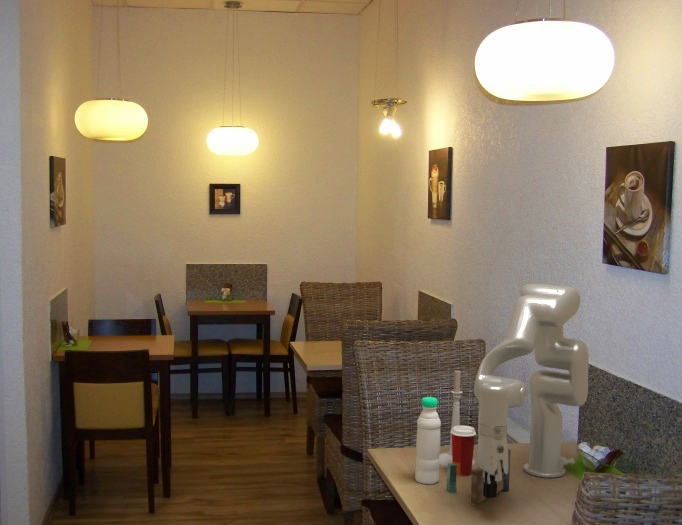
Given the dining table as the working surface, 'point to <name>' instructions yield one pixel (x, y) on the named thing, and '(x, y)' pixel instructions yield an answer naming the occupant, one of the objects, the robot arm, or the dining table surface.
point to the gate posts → (453, 470)
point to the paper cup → (463, 448)
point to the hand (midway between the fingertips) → (489, 496)
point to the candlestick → (453, 419)
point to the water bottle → (428, 443)
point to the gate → (480, 486)
